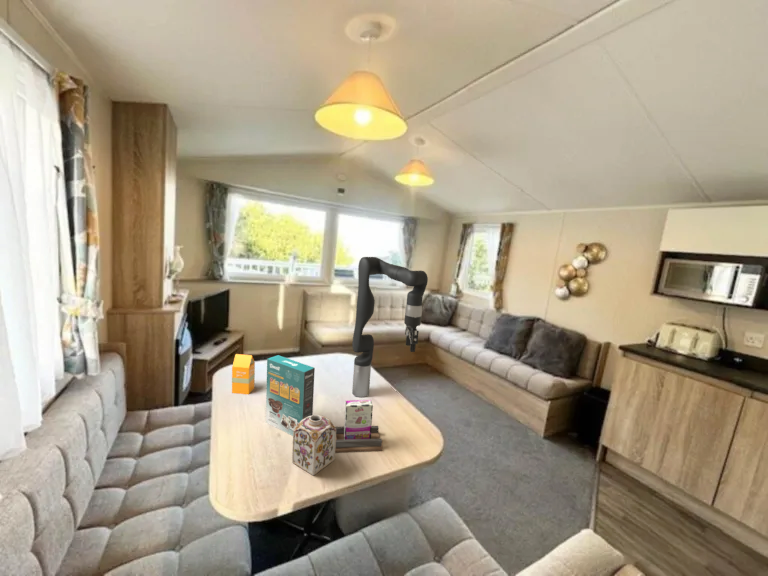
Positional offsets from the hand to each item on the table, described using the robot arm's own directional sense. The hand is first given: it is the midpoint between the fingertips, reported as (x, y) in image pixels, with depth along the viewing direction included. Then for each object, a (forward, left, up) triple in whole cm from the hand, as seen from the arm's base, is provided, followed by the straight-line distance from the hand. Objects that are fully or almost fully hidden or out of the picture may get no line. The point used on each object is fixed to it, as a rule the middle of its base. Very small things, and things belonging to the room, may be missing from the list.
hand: (410, 348), depth 156 cm
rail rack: (+15, -24, -36) cm, 46 cm away
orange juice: (-32, -80, -36) cm, 93 cm away
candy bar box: (+15, -24, -35) cm, 45 cm away
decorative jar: (+27, -41, -36) cm, 61 cm away
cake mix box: (+4, -53, -36) cm, 64 cm away
